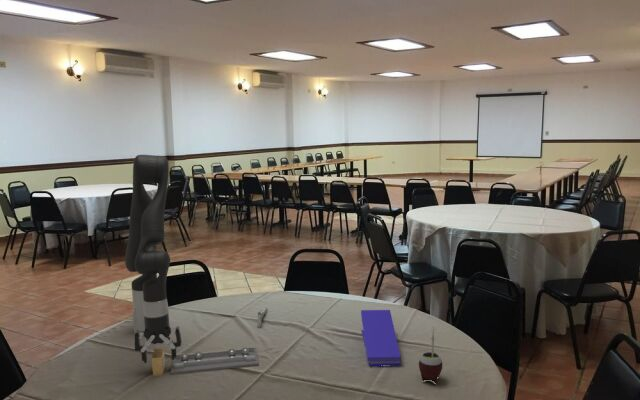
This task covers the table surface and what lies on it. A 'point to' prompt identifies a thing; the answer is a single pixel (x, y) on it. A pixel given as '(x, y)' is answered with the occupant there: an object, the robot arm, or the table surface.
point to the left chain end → (197, 361)
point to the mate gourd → (430, 364)
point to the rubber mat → (215, 366)
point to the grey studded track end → (233, 357)
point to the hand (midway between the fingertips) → (159, 360)
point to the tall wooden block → (158, 361)
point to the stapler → (380, 338)
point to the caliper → (261, 316)
